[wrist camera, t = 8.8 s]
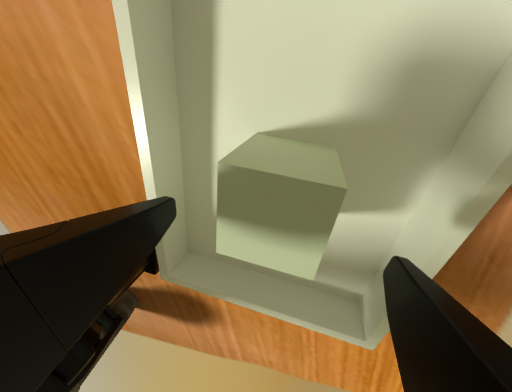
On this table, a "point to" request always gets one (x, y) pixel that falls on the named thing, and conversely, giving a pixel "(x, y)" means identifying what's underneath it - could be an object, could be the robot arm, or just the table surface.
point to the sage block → (278, 203)
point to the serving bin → (324, 134)
